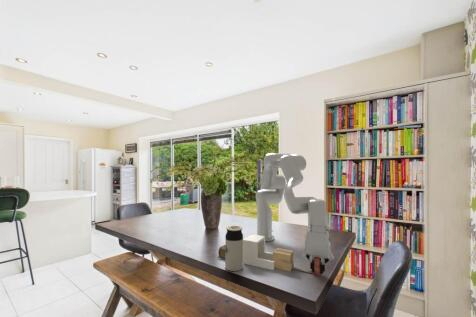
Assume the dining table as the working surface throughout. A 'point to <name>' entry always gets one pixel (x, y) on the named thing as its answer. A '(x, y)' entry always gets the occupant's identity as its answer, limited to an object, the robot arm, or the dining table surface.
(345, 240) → the dining table surface
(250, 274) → the dining table surface
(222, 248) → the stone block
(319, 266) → the oak block with cord
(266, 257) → the white l-shaped block
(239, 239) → the travel mug
